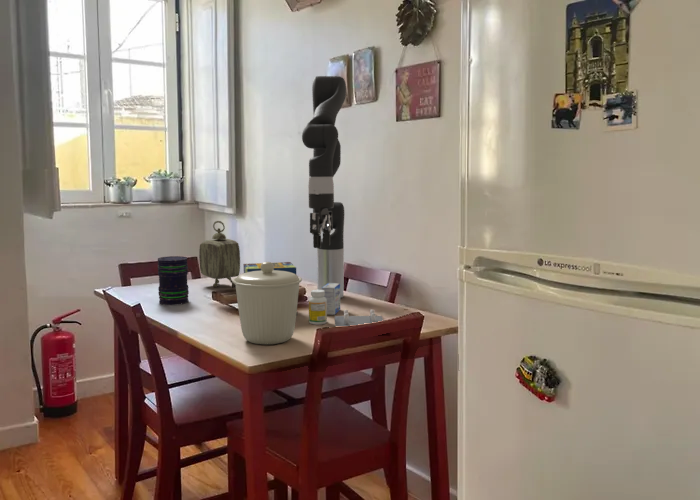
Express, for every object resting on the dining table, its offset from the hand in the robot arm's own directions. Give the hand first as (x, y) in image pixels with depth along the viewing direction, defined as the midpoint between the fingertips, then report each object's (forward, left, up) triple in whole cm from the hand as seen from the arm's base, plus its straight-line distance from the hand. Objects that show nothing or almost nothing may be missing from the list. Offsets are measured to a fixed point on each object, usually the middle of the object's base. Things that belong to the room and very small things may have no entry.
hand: (322, 246), depth 202 cm
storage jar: (-25, -50, -22) cm, 60 cm away
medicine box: (-8, +3, -22) cm, 24 cm away
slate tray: (+12, +11, -22) cm, 27 cm away
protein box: (-6, -16, -22) cm, 28 cm away
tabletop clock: (-53, -39, -22) cm, 70 cm away
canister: (+25, -14, -22) cm, 36 cm away
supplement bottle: (+6, -1, -22) cm, 23 cm away
